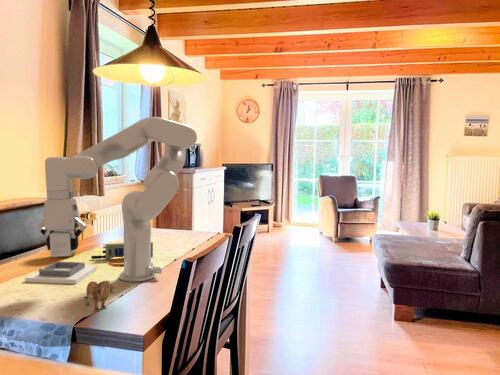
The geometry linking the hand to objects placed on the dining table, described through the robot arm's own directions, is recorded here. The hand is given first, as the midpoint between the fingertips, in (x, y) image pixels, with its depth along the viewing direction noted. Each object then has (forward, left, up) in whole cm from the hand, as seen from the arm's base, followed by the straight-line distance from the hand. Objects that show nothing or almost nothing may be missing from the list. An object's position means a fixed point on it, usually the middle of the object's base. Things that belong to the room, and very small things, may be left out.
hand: (62, 248), depth 125 cm
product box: (0, 0, -2) cm, 2 cm away
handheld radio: (-5, -39, -14) cm, 42 cm away
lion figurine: (-17, +12, -14) cm, 25 cm away
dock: (+8, -14, -14) cm, 21 cm away
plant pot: (+21, -40, -14) cm, 47 cm away
